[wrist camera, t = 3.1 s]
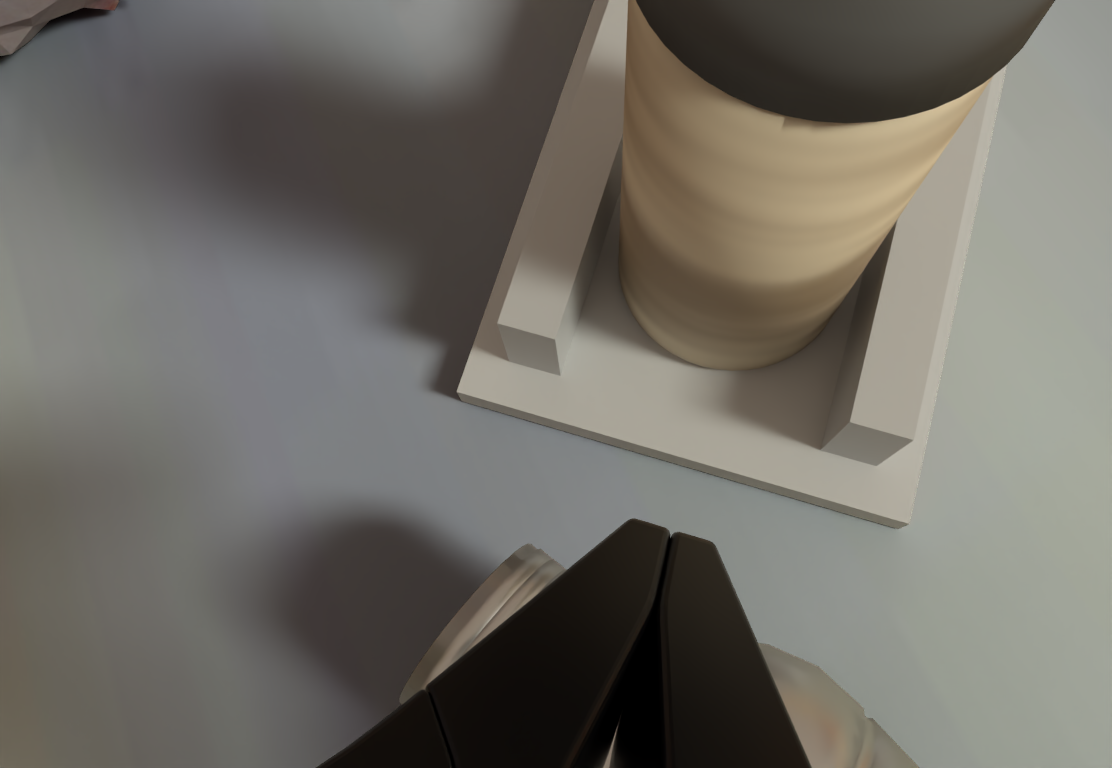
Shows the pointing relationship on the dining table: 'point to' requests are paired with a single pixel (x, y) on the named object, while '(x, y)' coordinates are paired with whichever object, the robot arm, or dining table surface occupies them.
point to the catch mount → (710, 394)
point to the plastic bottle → (807, 691)
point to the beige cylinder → (784, 154)
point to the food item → (36, 18)
